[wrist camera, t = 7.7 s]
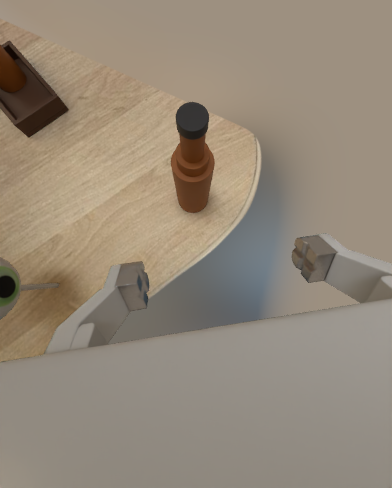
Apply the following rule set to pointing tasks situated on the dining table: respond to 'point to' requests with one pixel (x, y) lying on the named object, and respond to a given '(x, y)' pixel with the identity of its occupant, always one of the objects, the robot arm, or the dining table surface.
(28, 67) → the tray
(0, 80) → the tray bottle
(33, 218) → the dining table surface
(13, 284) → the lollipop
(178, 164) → the loose bottle
